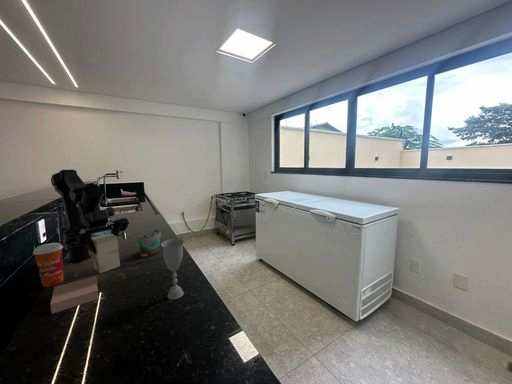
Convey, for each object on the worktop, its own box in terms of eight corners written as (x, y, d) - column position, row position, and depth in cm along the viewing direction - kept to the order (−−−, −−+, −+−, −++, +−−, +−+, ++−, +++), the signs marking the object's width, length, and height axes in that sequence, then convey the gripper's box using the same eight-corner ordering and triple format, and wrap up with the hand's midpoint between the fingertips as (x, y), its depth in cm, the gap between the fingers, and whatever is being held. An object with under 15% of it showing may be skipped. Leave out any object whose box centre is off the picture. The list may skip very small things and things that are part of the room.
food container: (151, 260, 95) (149, 238, 94) (139, 258, 96) (137, 237, 95) (167, 249, 107) (166, 229, 106) (156, 248, 108) (155, 229, 107)
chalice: (168, 288, 74) (165, 239, 72) (188, 287, 75) (186, 238, 72) (161, 302, 67) (157, 247, 64) (183, 301, 68) (180, 247, 65)
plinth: (51, 313, 62) (50, 304, 61) (55, 295, 70) (54, 286, 70) (98, 298, 69) (97, 290, 68) (97, 283, 77) (96, 275, 77)
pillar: (93, 267, 75) (90, 237, 73) (113, 261, 79) (110, 233, 78) (100, 273, 71) (96, 241, 70) (120, 266, 76) (117, 236, 74)
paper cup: (34, 291, 72) (27, 252, 70) (43, 280, 79) (37, 244, 77) (63, 285, 76) (58, 248, 74) (70, 275, 83) (65, 240, 81)
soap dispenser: (119, 238, 121) (118, 223, 120) (98, 244, 113) (96, 228, 112) (107, 232, 132) (106, 218, 131) (87, 237, 124) (85, 222, 122)
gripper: (60, 205, 67) (75, 247, 62) (124, 197, 82) (141, 230, 77) (57, 224, 72) (70, 264, 68) (118, 214, 87) (132, 246, 83)
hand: (106, 250), depth 73 cm, fingers closed on pillar, 6 cm apart
